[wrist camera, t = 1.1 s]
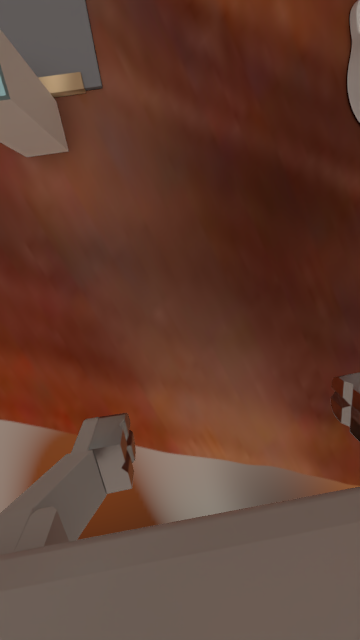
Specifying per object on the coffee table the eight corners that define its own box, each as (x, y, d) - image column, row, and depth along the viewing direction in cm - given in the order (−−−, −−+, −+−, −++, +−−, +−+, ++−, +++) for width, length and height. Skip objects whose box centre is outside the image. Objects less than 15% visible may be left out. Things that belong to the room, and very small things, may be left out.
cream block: (56, 101, 30) (-22, 1, 17) (68, 151, 32) (6, 95, 19) (12, 107, 30) (-101, 11, 17) (26, 157, 32) (-66, 105, 19)
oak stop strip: (82, 76, 30) (80, 71, 29) (86, 93, 30) (83, 88, 29) (-26, 91, 29) (-32, 86, 29) (-21, 107, 30) (-27, 103, 29)
